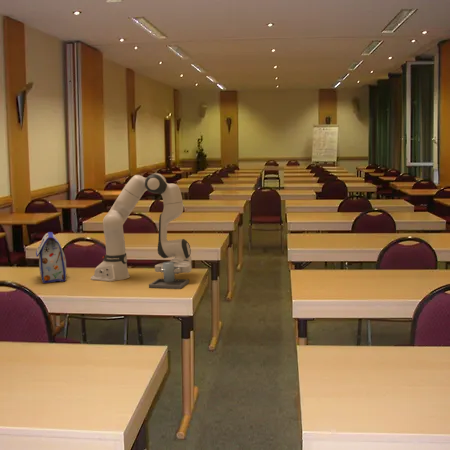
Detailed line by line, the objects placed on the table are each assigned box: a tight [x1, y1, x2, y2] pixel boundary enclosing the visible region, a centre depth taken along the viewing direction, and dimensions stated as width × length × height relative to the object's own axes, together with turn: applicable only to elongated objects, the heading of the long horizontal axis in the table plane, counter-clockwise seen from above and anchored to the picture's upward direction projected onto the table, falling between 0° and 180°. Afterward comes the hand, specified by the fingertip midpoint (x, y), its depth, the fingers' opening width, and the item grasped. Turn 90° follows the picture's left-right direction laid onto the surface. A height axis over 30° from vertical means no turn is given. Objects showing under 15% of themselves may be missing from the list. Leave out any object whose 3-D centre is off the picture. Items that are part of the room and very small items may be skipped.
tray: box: [148, 278, 190, 290], centre depth 351 cm, size 18×14×2 cm
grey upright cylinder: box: [162, 261, 176, 282], centre depth 350 cm, size 6×6×10 cm
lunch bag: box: [35, 231, 67, 284], centre depth 375 cm, size 23×17×27 cm
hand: (168, 271), depth 349 cm, fingers closed on grey upright cylinder, 6 cm apart
